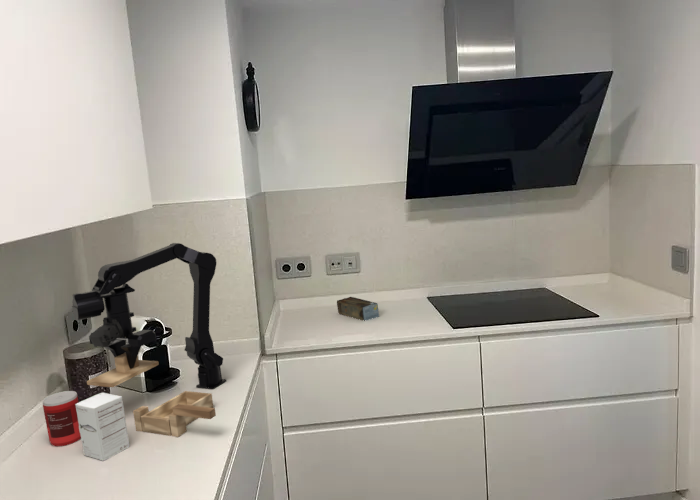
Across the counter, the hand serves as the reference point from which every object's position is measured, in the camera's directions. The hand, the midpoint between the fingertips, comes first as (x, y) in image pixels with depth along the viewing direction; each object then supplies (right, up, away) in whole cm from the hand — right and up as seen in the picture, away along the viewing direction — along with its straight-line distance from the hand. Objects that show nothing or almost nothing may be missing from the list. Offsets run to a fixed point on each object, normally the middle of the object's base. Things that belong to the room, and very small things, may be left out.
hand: (127, 367), depth 149 cm
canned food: (-10, -15, -12) cm, 22 cm away
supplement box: (+4, -15, -21) cm, 26 cm away
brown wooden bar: (+23, -7, -19) cm, 31 cm away
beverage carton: (+63, +4, +79) cm, 101 cm away
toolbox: (+16, -12, -7) cm, 21 cm away
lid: (0, -2, -1) cm, 2 cm away
